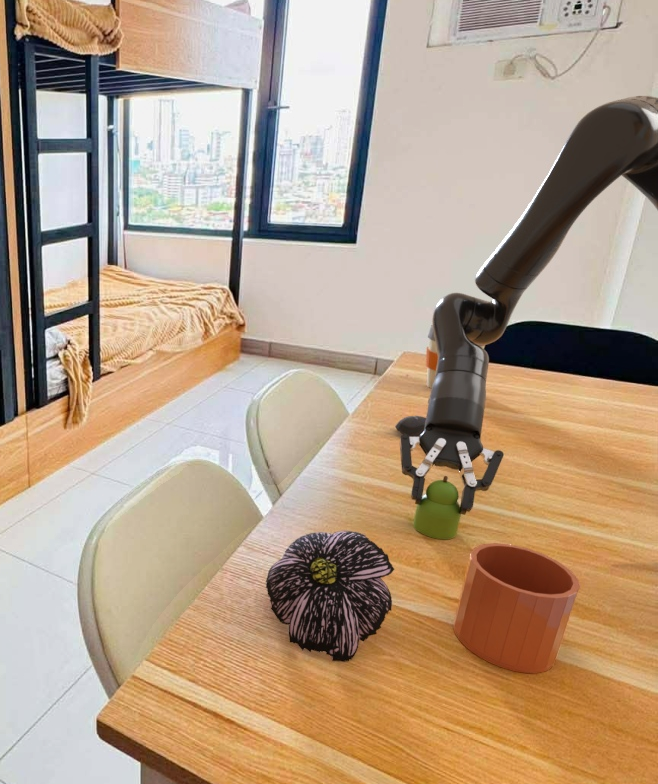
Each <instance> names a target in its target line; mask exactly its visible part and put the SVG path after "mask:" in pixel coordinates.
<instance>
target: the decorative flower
mask: <svg viewBox="0 0 658 784" xmlns="http://www.w3.org/2000/svg"><path fill="white" fill-rule="evenodd" d="M394 571H395V568H394V566H393V564H392V562H390V559H389V554H388V553H385V551H384V550H383V548H381V547H379V546H378V545H377V544H376V543H375V542H374V541H373V540H370V538H368V537H367V535H366V534H363V533H361V532H357V531H351V530H339V531H336V532H333V533H331V532H323V531H319V532H310V533H306V534H305V535H302V536H300V537H298V538H296V539H295V540H294V541H293V542H292V543H290V545H289V546H288V547H287V548H286V550H285V551H284V553H283V555H282V558H281V559H279V560H278V561H276V562H274V564H272V565H271V567H270V568H269V570H268V573H267V577H266V579H265V583H266V586H265V589H266V591H267V595H268V597H269V602H270V605H271V606H270V610H271V612H272V613H273V614H274V616H275V617H276V619H278V621H279V623H282V624H283V625H286V626H287V625H288V639H289V643H292V644H296V645H297V646H298V647H299V649H301V651H303V652H304V649H305V650H307V651H308V652H309V653H311V652H312V651H314V652H317V653H323V652H324V653H326V654H325V655H327V656H330V657H331V660H332V661H331V662H342V663H343V662H344V663H345V662H350V661H352V659H353V658H354V657H355V656H356V654H357V652H358V648H359V645H360V641H361V642H365V640H367V639H368V638H369V637H370V636H374V635H377V631H379V630H380V629H381V628H382V624H383V622H384V621H385V619H386V615H388V614H389V612H392V607H393V600H392V595H391V591H390V589H389V587H388V585H387V584H386V582H385V581H384V580H383V579H382V578H384V577H387V576H389V575H391V574H392V573H393V572H394Z"/></svg>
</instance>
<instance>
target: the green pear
mask: <svg viewBox="0 0 658 784" xmlns="http://www.w3.org/2000/svg"><path fill="white" fill-rule="evenodd" d="M448 479H449V477H448V475H444V476H443V478H442V479H438V480H434V481H432V482H431V483H429V484H428V486H427V488H426V490H425V494H423V495H422V501H421V504H420V505H418V504H416V507H415V513H414V518H413V521H412V522H413V523H412V525H413V528H414V529H415V530H416V531H417V532H419V533H420V534H422V535H424V536H425V537H429V538H432V539H437V540H451V539H454V538H456V536H457V533H458V529H459V525H460V521H461V516H462V514H459V512H460V503H459V502H458V500H459V496H460V495H459V491H458V489H457V487H456V486H455V484H453V483H452V482H451V481H448Z"/></svg>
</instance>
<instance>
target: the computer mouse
mask: <svg viewBox="0 0 658 784" xmlns="http://www.w3.org/2000/svg"><path fill="white" fill-rule="evenodd" d="M425 422H426V416H420V415H408V416H406V417H403V418H402V419H400V420H399V421H398V422H397V423H396V424H395V425H394V427H395V429H396V431H398V432H399V433H400V434H401V435H403V434H407V435H409V437H420V435H421V434H422V433H423V432H424V428H425Z"/></svg>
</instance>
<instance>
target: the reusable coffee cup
mask: <svg viewBox="0 0 658 784" xmlns="http://www.w3.org/2000/svg"><path fill="white" fill-rule="evenodd" d="M427 338H428V346H427V347H426V353H425V354H426V355H425V366H426V367H427V369H426V371H427V372H426V386H427V387H428V388H429V387H430V389H431V388H432V386H433V383H434V379H435V373H436V368H437V362H438V354H437V348H436V342H435V337H434V332H433V324H431V325H430V328H429V331H428V335H427ZM477 345H478V346H480V347H482V348H483V349H484V350H485V347H486V345H479V344H477Z"/></svg>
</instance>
